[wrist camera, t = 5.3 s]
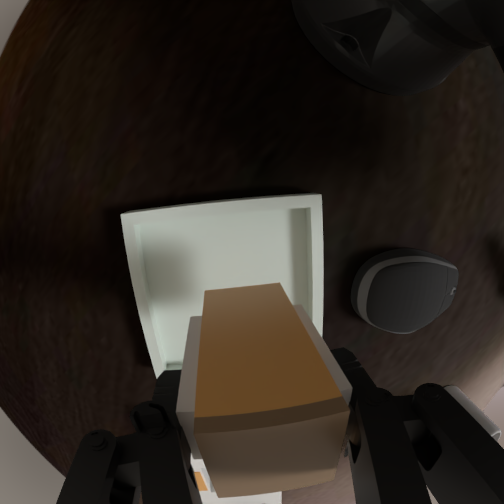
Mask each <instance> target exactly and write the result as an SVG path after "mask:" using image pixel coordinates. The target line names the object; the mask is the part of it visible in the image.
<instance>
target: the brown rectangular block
mask: <svg viewBox="0 0 504 504" xmlns="http://www.w3.org/2000/svg"><path fill="white" fill-rule="evenodd" d="M349 414H350V409H349V407H348V405H347V403H346V401H345V400H344V398H343V396H342V394H341V392H340V390H339V389H338V387H337V385H336V383H335V381H334V379H333V378H332V376H331V374H330V372H329V370H328V369H327V367H326V365H325V363H324V361H323V359H322V358H321V356H320V354H319V352H318V350H317V349H316V347H315V345H314V343H313V341H312V339H311V338H310V336H309V334H308V332H307V330H306V329H305V327H304V325H303V323H302V321H301V320H300V318H299V316H298V314H297V312H296V311H295V309H294V307H293V305H292V303H291V302H290V300H289V298H288V296H287V295H286V293H285V291H284V289H283V287H282V286H281V284H280V282H279V283H270V284H262V285H253V286H243V287H234V288H224V289H214V290H205V292H204V302H203V312H202V322H201V333H200V344H199V356H198V369H197V382H196V397H195V413H194V432H193V434H194V437H195V440H196V443H197V445H198V448H199V451H200V454H201V456H202V459H203V462H204V464H205V467H206V470H207V472H208V475H209V477H210V480H211V482H212V485H213V487H214V489H215V492H216V494H217V496H218V498H227V497H240V496H251V495H259V494H267V493H274V492H280V491H286V490H292V489H297V488H302V487H307V486H311V485H316V484H320V483H324V482H328V481H332V480H333V479H334V476H335V472H336V469H337V465H338V461H339V458H340V454H341V450H342V446H343V441H344V437H345V433H346V428H347V424H348V419H349Z"/></svg>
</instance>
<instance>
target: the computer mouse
mask: <svg viewBox="0 0 504 504" xmlns="http://www.w3.org/2000/svg"><path fill="white" fill-rule="evenodd" d="M457 283H458V270H457V268H456V267H455V266H454V265H453V264H451V263H450V262H449V261H447V260H445V259H444V258H442V257H440V256H438V255H435V254H432V253H429V252H426V251H422V250H418V249H411V248H400V249H394V250H389V251H386V252H383V253H380V254H378V255H376V256H374V257H372V258H370V259H369V260H367V261H366V262H365V263H364V264H363V265H362V266H361V267H360V268H359V270H358V271H357V273H356V275H355V277H354V280H353V284H352V288H351V303H352V306H353V309H354V310H355V312H356V313H357V314H358V315H359V316H360V317H361V318H362V319H364V320H365V321H366V322H368V323H369V324H371V325H373V326H375V327H377V328H380V329H382V330H385V331H389V332H393V333H398V334H407V333H411V332H414V331H416V330H418V329H420V328H422V327H424V326H426V325H427V324H429V323H430V322H432V321H433V320H434V319H435V318H437V317H438V316H439V315H440V314H441V313H442V312H444V311H445V310H446V309H447V308H448V307H449V306H450V304H451V302H452V300H453V298H454V295H455V293H456V287H457Z"/></svg>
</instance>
